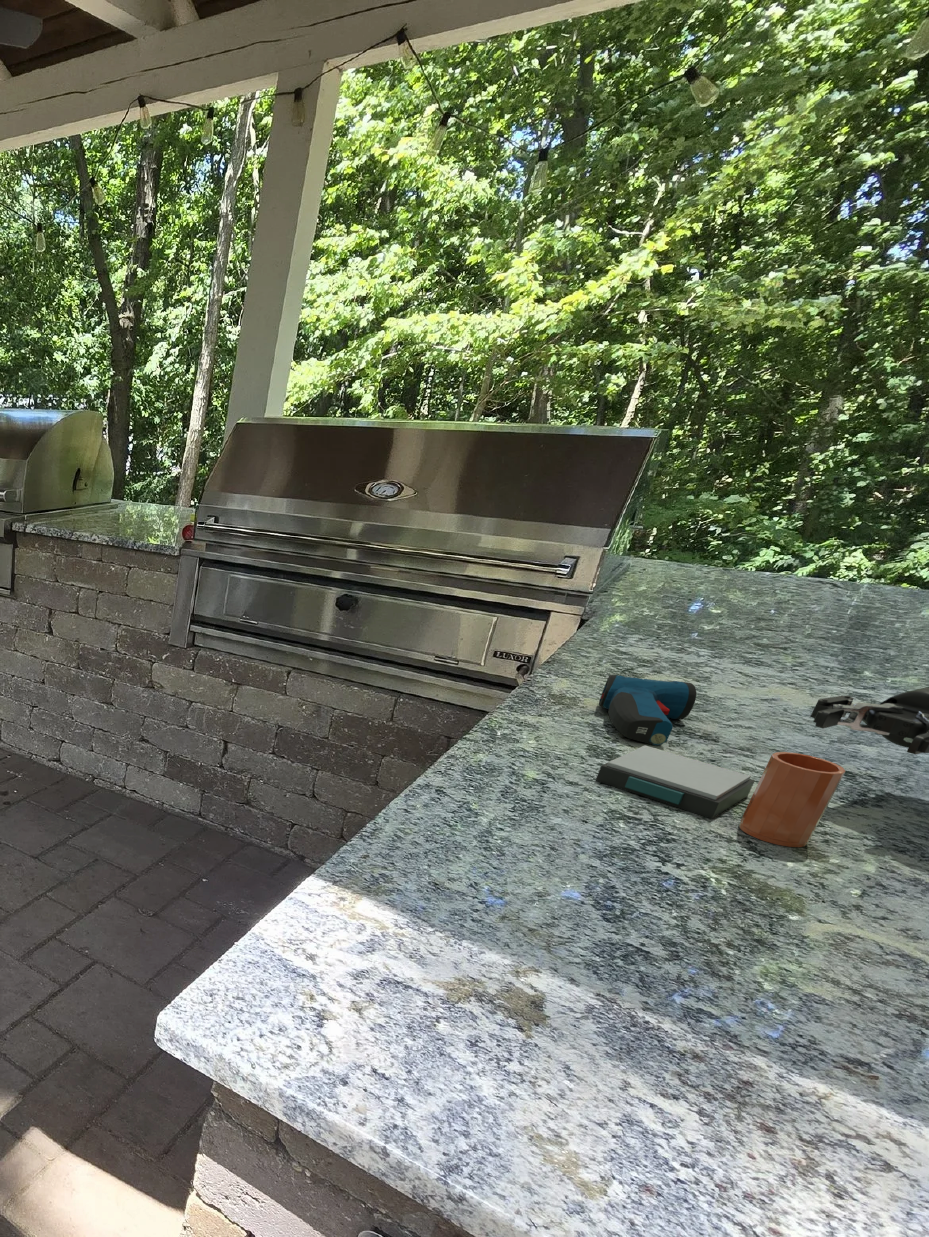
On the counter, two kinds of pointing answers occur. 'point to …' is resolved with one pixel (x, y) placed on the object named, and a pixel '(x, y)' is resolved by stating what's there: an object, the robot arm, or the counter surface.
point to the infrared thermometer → (646, 706)
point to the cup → (791, 798)
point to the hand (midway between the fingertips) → (866, 732)
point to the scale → (677, 780)
